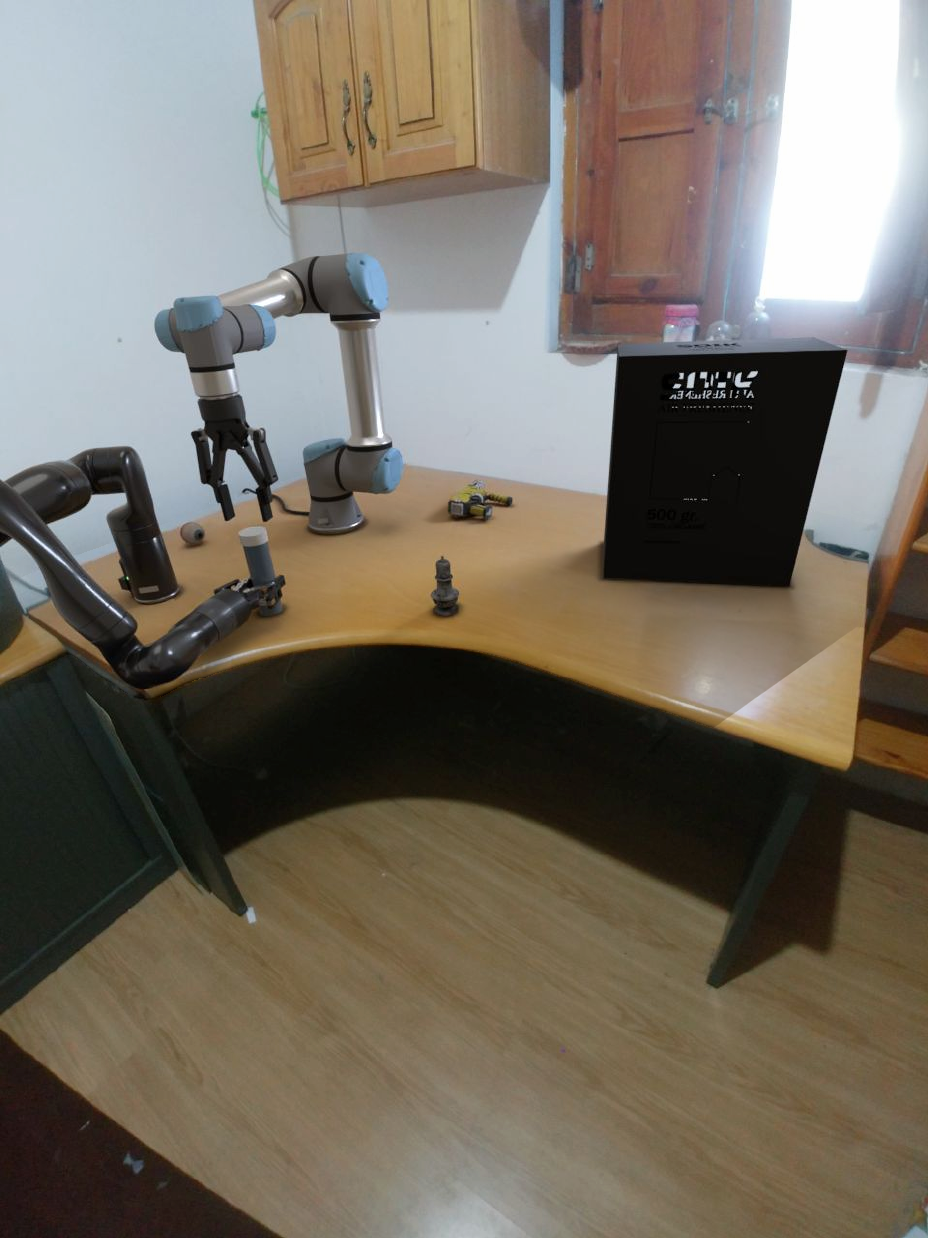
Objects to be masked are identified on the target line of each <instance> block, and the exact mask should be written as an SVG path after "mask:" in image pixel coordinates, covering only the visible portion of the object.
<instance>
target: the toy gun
mask: <svg viewBox="0 0 928 1238" xmlns="http://www.w3.org/2000/svg"><path fill="white" fill-rule="evenodd" d="M485 485H486V483H485V480H480V481H479V479H475V480H474V481H472V483H470V484H467V486H465V487H464V488H463V489H462V490H461V491H459V492H458V493H456V494H455V495H454V496H453V497H452V498H451V499H450V500H448V502H447V513H448V514H449V515H451V516H452V517H456V518H458V517H467V516H472V515H473V516H479V517H482V520H484V521H486V520H487V519H489V518H491V517H492V516H493V515H492V514H493V505H492V504H488V505H486V503H485V502H486V501H488V500H489V501H490V502H494V503H496V502H497V503H499V504H504V505H507V506H508V507H509V506H512V505H513V502H514V501H513V500H514V498H513V497H512V496H508V495H507V496H506V495H502V494H498V493H494V492H490V493H489V494H487V492H486V490H485V488H483V487H484V486H485Z"/></svg>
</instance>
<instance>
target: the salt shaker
mask: <svg viewBox="0 0 928 1238" xmlns="http://www.w3.org/2000/svg"><path fill="white" fill-rule="evenodd" d="M453 578H454V576H453V574H452V572H451V562H450V560H448V559H446V558H445V556H444V555H441V556H440V559H438V560H436V561H435V576H434V579H435V580H436V588H435V589H434V590H432V591H431V592H430V598H431V599H432V602H433V603H434V605H435V606H434V607H433V613H434V614H436V615H438V616H452V615H455V614H456V613H458V612H459V610H460V606H459V605H458V604H457V602H458V600H459V596H460V594H461V593H460V591H459V589H457V588H456V587H453V581H452V579H453Z"/></svg>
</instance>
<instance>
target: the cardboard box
mask: <svg viewBox="0 0 928 1238" xmlns="http://www.w3.org/2000/svg"><path fill="white" fill-rule="evenodd" d="M848 351H849V350H848V349H847V348H844V347H841V346H838V345H836V344H833V343H830V342H828V341H824V340H822V339H819V338H816V337H813V336H812V337H809V336H808V337H787V338H786V337H785V338H784V337H783V338H753V339H752V338H750V339H749V338H748V339H721V340H719V339H717V340H691V341H690V340H688V341H660V342H631V343H630V342H629V343H628V342H627V343H625V342H624V343H617V348H616V361H615V362H616V363H615V376H614V377H615V378H614V379H615V380H614V391H613V404H612V405H613V406H612V408H613V409H612V418H611V419H612V421H611V434H610V435H611V437H610V449H609V462H608V463H609V464H608V476H607V477H608V478H607V489H606V490H607V492H606V504H605V506H606V507H605V521H604V533H603V534H604V535H603V559H602V560H603V561H602V562H603V566H602V573H603V574H602V579H606V580H612V579H613V580H630V581H631V580H632V581H650V582H651V581H655V582H677V583H697V584H698V583H699V584H720V585H721V584H722V585H723V584H724V585H742V586H767V587H768V586H769V587H787V588H789V587H790V586H791V582H792V578H793V573H794V569H795V566H796V562H797V558H798V557H797V556H798V554H799V550H800V546H801V541H802V538H803V534H804V529H805V525H806V521H807V517H808V514H809V509H810V505H811V501H812V497H813V493H814V488H815V485H816V480H817V476H818V472H819V468H820V464H821V461H822V456H823V452H824V447H825V444H826V440H827V436H828V431H829V428H830V423H831V419H832V415H833V411H834V408H835V403H836V399H837V395H838V391H839V387H840V382H841V379H842V375H843V371H844V367H845V363H846V359H847V354H848ZM753 372H757V373H756V375H754V376H751V377H749V376H750V375H751V373H753ZM702 373H706V377H701V375H702ZM717 373H718V374H717ZM729 373H730V375H729ZM681 374H682V376H683V377H682V378H681ZM692 374H694V378H693V384H692V385H693V386H692V387H688V382H689V377H690V376H691V375H692ZM739 374H740V380H739V383H740V384H741V383H742V384H743V383H750V384H748V386H737V385H736V378H737V376H738V375H739ZM723 383H725V385H724V387H719V384H723ZM706 384H708V385H707V387H706ZM675 385H680V386H679V387H675Z"/></svg>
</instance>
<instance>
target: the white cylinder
mask: <svg viewBox="0 0 928 1238" xmlns="http://www.w3.org/2000/svg"><path fill="white" fill-rule="evenodd" d="M237 535H238V539H239V543H240V545H241V546H242V547H243V546H246V547H252V546H258V545H261V544H264V543H266V542H268V541H269V537H268V533H267V529H266V527H265V526H259V525H258V526H250V527H245V528H243V529H240V530H239V531H238V533H237Z"/></svg>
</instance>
